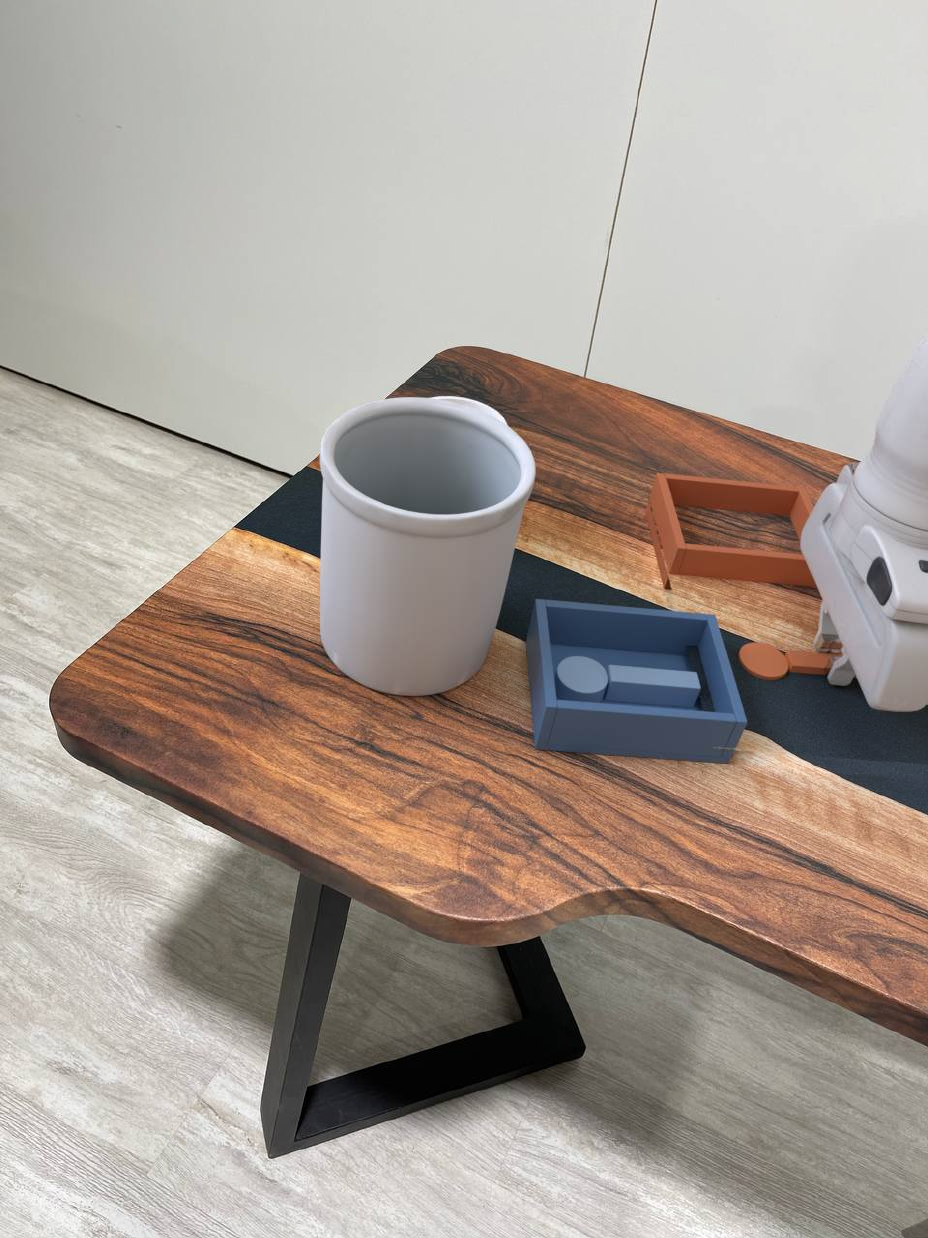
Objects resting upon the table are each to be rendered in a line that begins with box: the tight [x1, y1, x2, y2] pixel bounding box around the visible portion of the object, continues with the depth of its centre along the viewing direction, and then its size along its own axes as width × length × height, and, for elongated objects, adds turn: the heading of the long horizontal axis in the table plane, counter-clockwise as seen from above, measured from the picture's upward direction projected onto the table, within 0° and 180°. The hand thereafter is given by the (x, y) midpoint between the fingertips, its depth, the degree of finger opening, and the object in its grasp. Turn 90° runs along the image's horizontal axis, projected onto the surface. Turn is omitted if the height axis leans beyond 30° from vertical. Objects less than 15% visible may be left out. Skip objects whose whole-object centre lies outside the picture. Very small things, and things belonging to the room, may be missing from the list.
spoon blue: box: [554, 656, 702, 708], centre depth 78 cm, size 11×4×2 cm, turn 91°
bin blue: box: [525, 598, 748, 765], centre depth 77 cm, size 15×12×5 cm
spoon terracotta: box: [737, 641, 857, 681], centre depth 82 cm, size 11×4×2 cm, turn 91°
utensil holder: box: [319, 396, 537, 697], centre depth 75 cm, size 15×15×18 cm
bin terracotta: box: [644, 472, 817, 590], centre depth 94 cm, size 15×12×5 cm
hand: (829, 665), depth 82 cm, fingers closed on spoon terracotta, 2 cm apart
